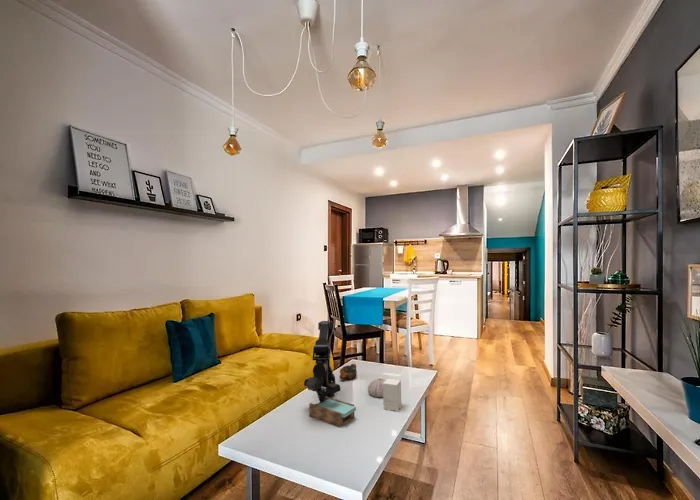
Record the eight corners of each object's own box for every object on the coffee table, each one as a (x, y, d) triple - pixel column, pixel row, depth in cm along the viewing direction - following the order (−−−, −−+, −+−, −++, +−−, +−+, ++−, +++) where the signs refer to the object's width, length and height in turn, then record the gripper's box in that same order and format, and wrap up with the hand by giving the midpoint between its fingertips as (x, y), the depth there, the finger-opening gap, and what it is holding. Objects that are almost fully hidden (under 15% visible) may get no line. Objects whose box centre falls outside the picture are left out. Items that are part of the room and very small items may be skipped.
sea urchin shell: (389, 400, 168) (389, 384, 168) (364, 397, 172) (364, 382, 172) (394, 391, 180) (394, 376, 181) (371, 388, 184) (370, 374, 185)
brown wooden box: (309, 416, 151) (309, 403, 151) (324, 407, 159) (324, 395, 160) (339, 427, 140) (339, 413, 140) (354, 417, 149) (354, 404, 149)
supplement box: (401, 405, 161) (401, 380, 161) (397, 412, 154) (397, 385, 155) (387, 403, 164) (387, 378, 164) (382, 409, 157) (382, 382, 158)
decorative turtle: (361, 376, 205) (361, 363, 205) (348, 385, 192) (348, 372, 192) (348, 372, 210) (348, 360, 210) (335, 381, 198) (335, 368, 197)
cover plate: (317, 408, 150) (316, 405, 150) (329, 402, 157) (328, 398, 157) (344, 417, 140) (344, 414, 140) (355, 410, 147) (355, 406, 147)
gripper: (295, 370, 153) (295, 404, 153) (325, 378, 142) (325, 415, 141) (312, 364, 162) (312, 396, 162) (341, 372, 151) (341, 406, 150)
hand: (321, 403), depth 153 cm, fingers closed
